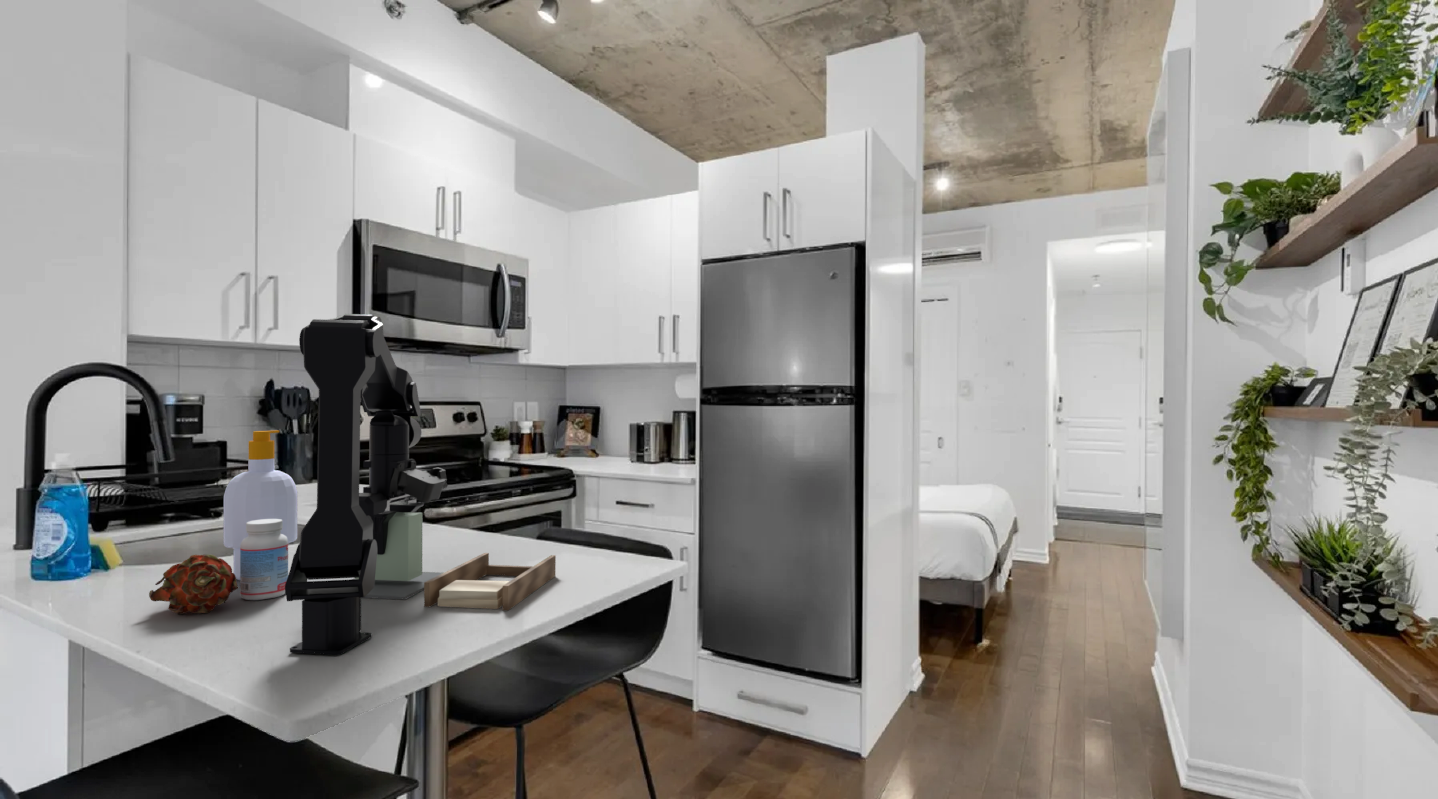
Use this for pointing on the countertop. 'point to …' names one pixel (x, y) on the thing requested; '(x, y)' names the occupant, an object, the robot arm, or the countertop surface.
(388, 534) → the upright mint green block
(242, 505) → the soap bottle
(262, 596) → the pill bottle
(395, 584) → the charcoal mat
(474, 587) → the offcut stack
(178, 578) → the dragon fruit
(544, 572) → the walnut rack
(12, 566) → the countertop surface
